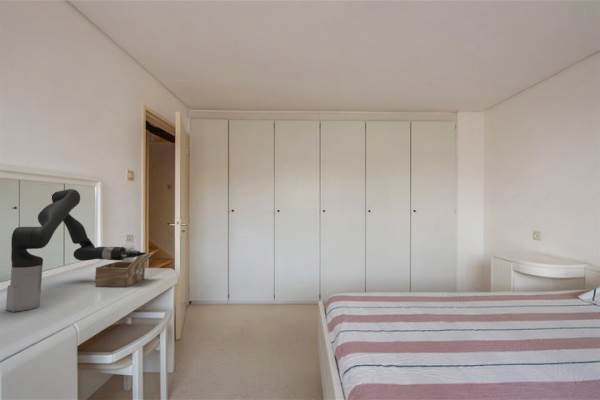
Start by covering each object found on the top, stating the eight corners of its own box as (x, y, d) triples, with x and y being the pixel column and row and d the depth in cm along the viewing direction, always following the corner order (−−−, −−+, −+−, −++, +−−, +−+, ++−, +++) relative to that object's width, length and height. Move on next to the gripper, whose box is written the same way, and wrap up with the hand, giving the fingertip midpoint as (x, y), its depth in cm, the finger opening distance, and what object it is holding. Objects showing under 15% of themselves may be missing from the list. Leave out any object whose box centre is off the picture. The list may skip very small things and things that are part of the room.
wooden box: (125, 287, 148) (126, 268, 148) (93, 286, 147) (95, 267, 148) (145, 279, 166) (145, 262, 167) (116, 278, 166) (117, 261, 167)
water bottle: (128, 276, 173) (131, 235, 174) (117, 275, 173) (119, 235, 174) (135, 273, 180) (138, 234, 181) (124, 273, 180) (127, 234, 181)
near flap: (127, 266, 149) (128, 267, 149) (138, 256, 149) (138, 256, 149) (144, 261, 166) (145, 261, 166) (154, 251, 166) (155, 252, 166)
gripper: (106, 248, 151) (139, 249, 152) (121, 245, 164) (151, 246, 165) (105, 262, 151) (138, 263, 151) (120, 258, 164) (150, 259, 164)
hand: (145, 254), depth 158 cm, fingers closed
